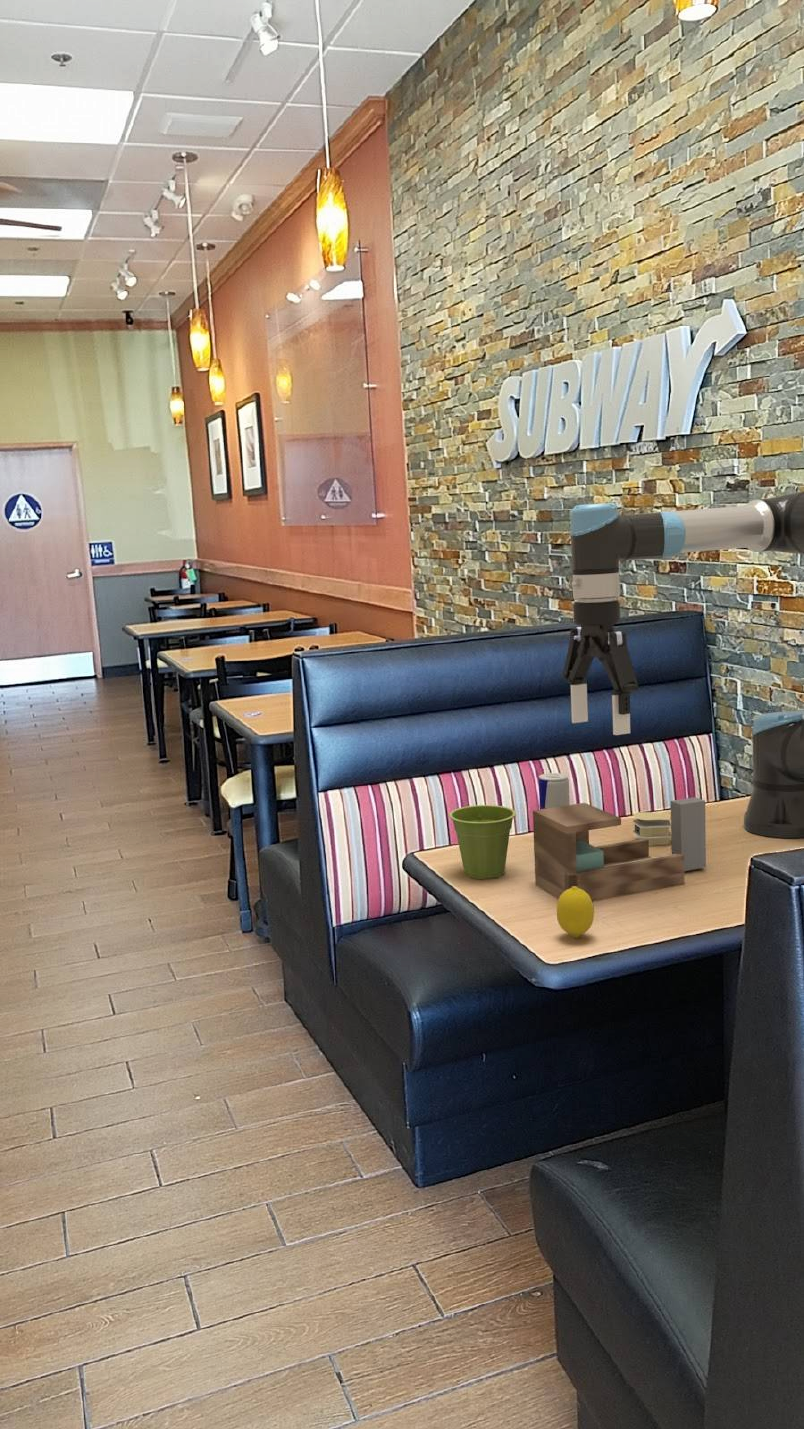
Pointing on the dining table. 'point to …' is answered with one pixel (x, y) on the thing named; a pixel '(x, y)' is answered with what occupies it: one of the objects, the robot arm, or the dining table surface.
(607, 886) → the walnut shelf
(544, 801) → the beverage can
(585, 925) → the lemon
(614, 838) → the dining table surface
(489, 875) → the plant pot
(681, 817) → the pull block
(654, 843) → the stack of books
